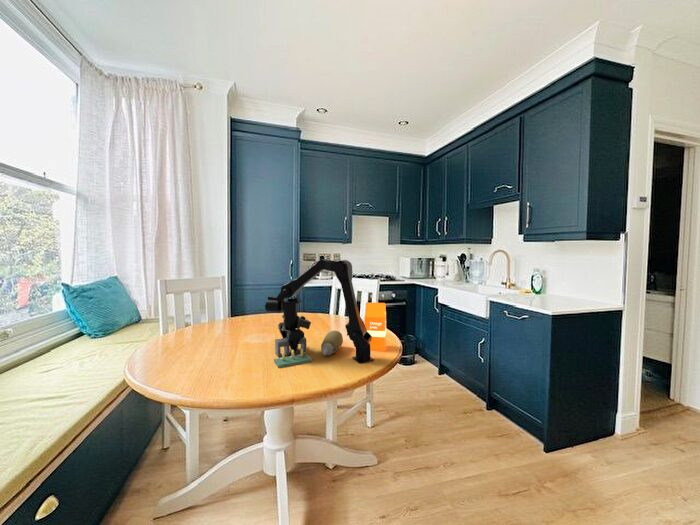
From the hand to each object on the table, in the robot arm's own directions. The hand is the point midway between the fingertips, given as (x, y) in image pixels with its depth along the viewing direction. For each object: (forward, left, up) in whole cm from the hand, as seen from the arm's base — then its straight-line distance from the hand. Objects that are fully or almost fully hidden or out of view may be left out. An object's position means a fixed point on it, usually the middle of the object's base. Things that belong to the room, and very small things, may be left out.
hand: (291, 350), depth 126 cm
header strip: (-10, +2, -1) cm, 10 cm away
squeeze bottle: (-1, -21, +3) cm, 21 cm away
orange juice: (-11, -35, -2) cm, 37 cm away
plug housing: (0, 0, -1) cm, 1 cm away
